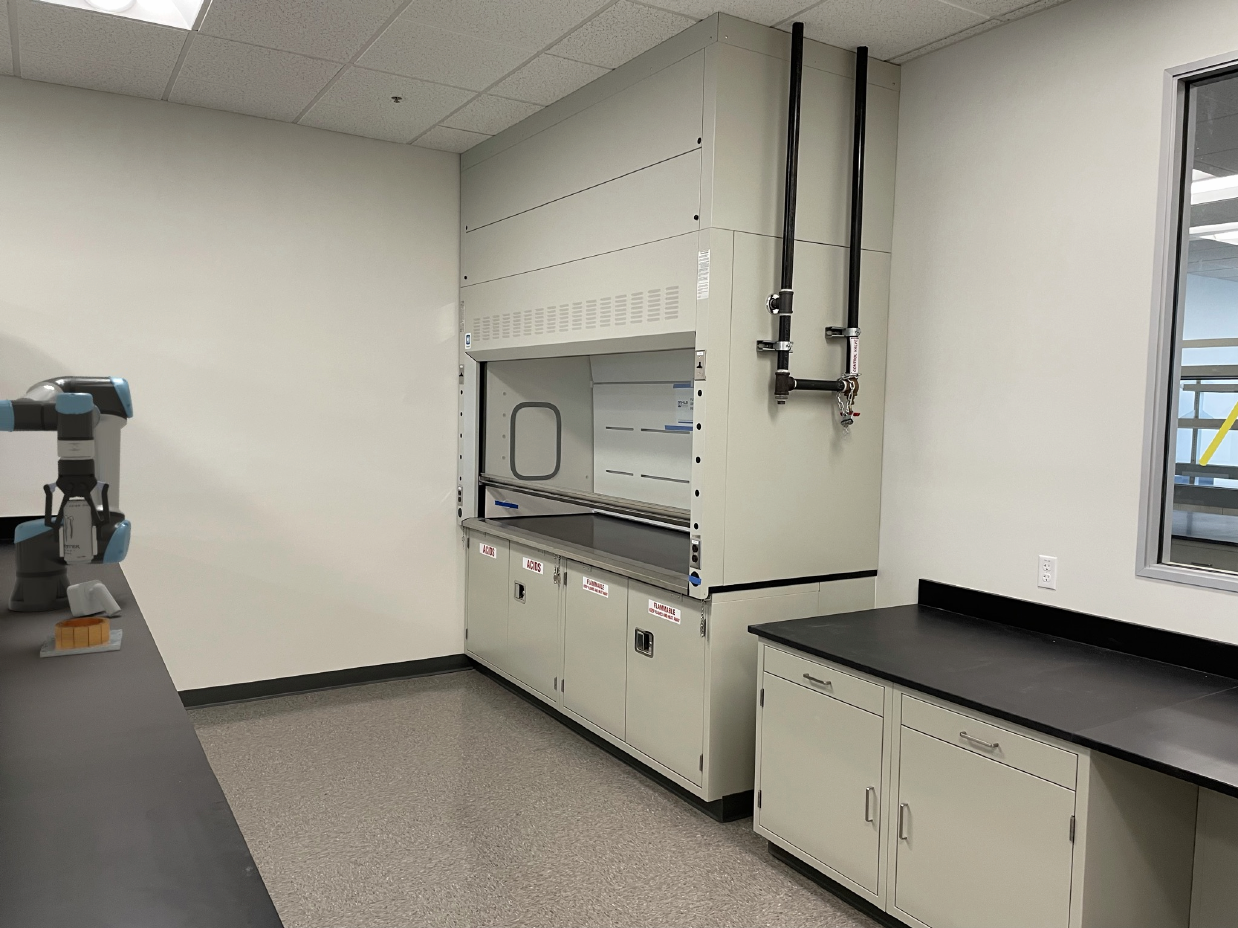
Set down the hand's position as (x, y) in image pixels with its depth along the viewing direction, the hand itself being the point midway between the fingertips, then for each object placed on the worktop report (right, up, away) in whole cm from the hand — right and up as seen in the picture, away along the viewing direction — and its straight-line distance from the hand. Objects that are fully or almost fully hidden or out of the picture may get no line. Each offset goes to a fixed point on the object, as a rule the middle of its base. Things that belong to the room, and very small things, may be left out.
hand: (78, 554), depth 216 cm
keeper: (+8, -19, -12) cm, 24 cm away
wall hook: (-5, -18, +17) cm, 25 cm away
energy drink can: (0, -2, 0) cm, 2 cm away
